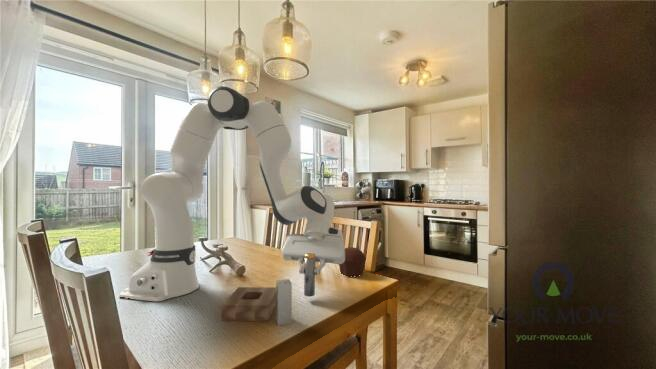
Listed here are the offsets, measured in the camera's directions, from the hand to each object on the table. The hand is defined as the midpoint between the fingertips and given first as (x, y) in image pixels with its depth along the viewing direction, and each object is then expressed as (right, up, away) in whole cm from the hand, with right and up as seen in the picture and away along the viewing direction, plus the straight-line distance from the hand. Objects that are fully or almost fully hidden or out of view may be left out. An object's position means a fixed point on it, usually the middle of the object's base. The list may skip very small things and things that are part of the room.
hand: (309, 273), depth 79 cm
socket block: (-16, -8, -5) cm, 18 cm away
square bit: (-6, -8, -11) cm, 15 cm away
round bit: (0, -6, +1) cm, 6 cm away
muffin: (+15, -9, +25) cm, 31 cm away
